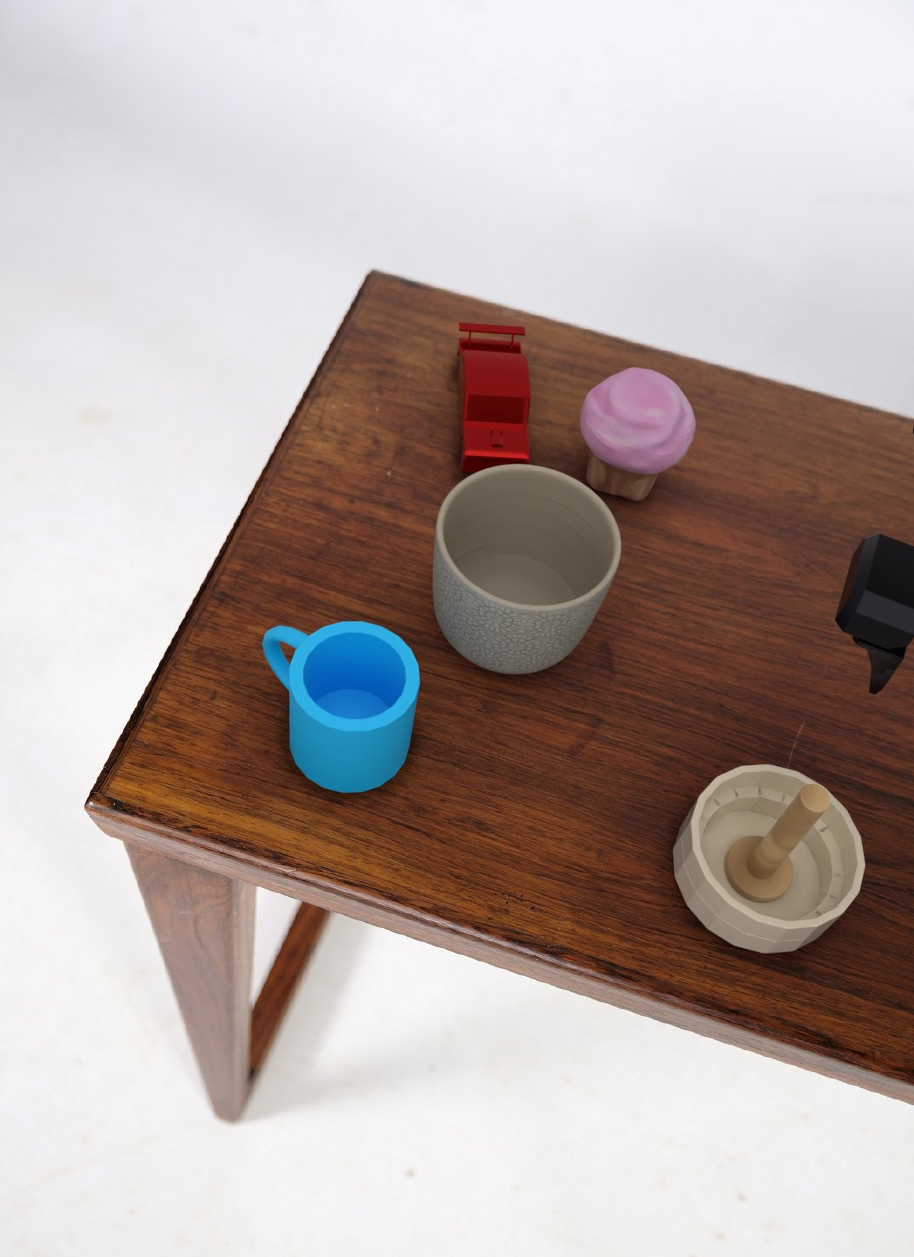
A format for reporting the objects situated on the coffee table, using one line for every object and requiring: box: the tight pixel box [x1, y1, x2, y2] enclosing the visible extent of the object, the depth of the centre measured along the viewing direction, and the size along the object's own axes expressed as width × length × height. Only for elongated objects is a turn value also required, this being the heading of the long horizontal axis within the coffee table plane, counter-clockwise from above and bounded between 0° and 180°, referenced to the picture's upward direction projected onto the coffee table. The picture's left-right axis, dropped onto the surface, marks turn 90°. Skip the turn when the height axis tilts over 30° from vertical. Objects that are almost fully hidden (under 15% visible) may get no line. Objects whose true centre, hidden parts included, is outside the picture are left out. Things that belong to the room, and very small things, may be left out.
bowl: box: [672, 763, 866, 954], centre depth 77 cm, size 11×11×5 cm
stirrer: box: [724, 784, 830, 903], centre depth 74 cm, size 4×4×11 cm
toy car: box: [456, 321, 532, 474], centre depth 98 cm, size 14×6×5 cm, turn 1°
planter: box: [432, 464, 622, 675], centre depth 83 cm, size 12×12×11 cm
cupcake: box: [579, 366, 697, 502], centre depth 93 cm, size 9×9×10 cm
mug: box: [262, 620, 421, 794], centre depth 78 cm, size 12×8×8 cm
